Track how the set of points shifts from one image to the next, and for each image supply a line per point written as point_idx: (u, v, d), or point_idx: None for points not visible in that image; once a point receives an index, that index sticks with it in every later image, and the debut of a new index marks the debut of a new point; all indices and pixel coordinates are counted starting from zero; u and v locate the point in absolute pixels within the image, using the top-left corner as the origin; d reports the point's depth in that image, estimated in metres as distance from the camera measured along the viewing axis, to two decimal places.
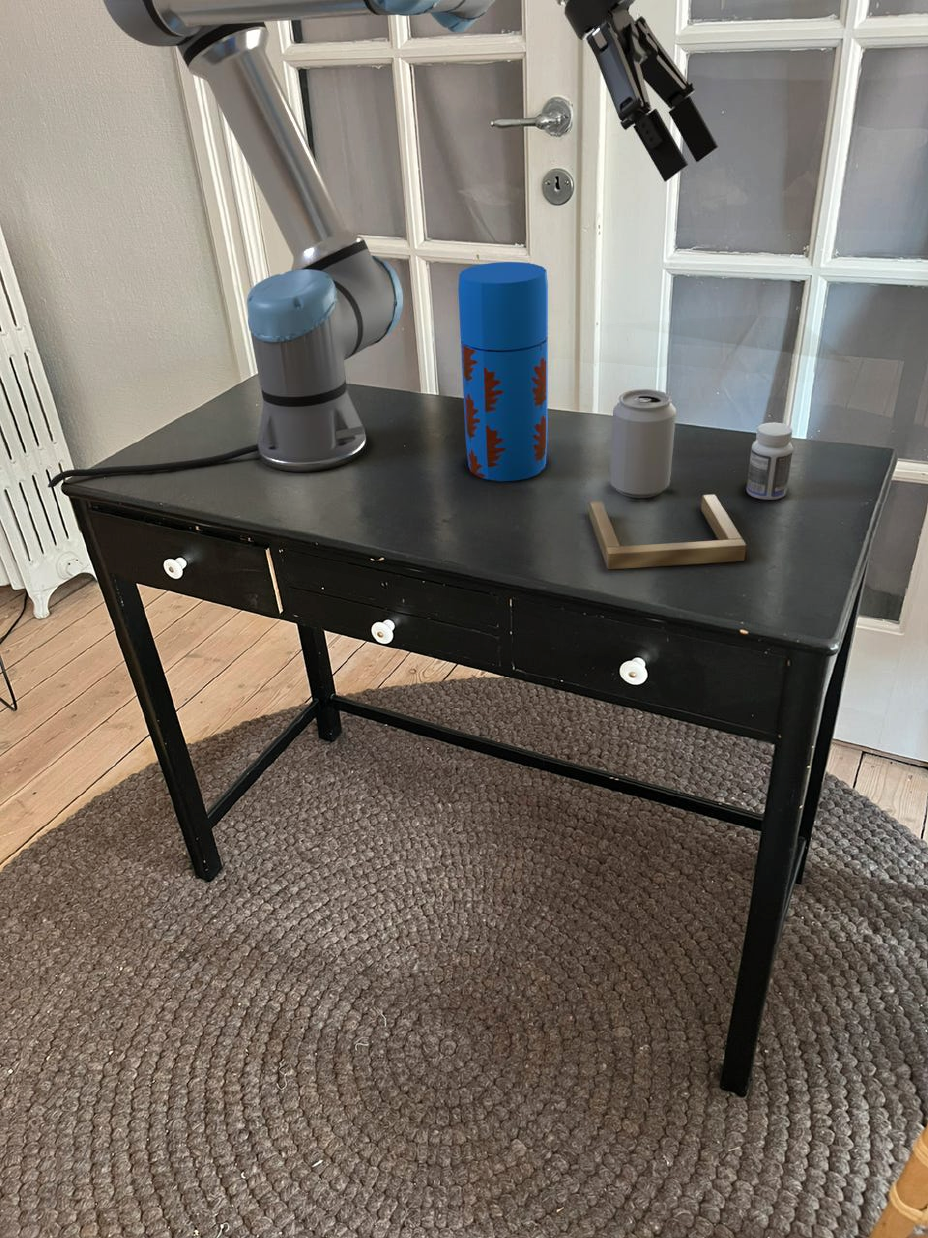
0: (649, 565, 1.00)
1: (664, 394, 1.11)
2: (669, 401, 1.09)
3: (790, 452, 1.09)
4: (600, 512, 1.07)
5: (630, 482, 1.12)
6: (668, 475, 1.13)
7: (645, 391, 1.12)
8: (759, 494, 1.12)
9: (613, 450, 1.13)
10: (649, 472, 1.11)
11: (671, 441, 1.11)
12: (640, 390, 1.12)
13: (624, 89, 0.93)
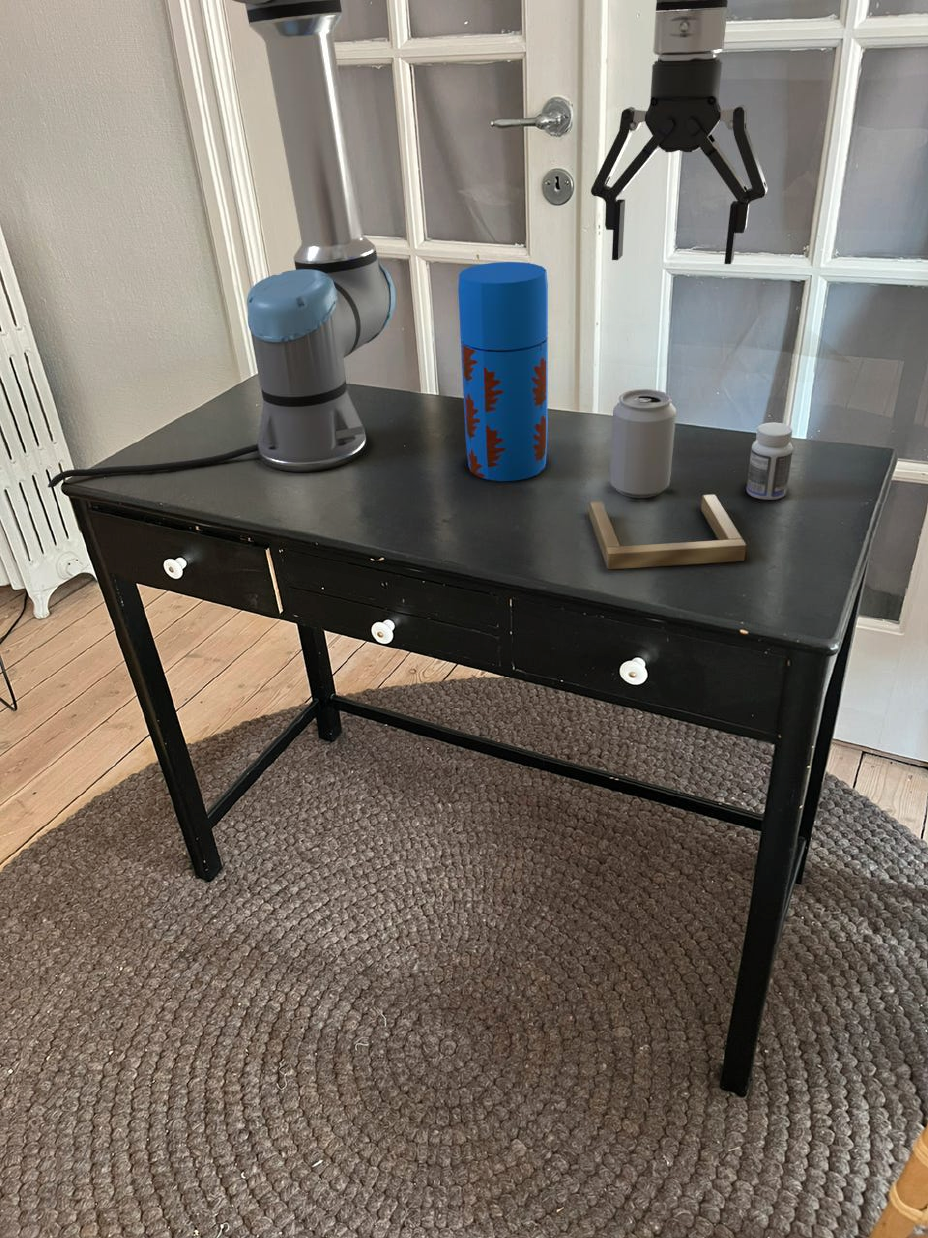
0: (649, 565, 1.00)
1: (664, 394, 1.11)
2: (669, 401, 1.09)
3: (790, 452, 1.09)
4: (600, 512, 1.07)
5: (630, 482, 1.12)
6: (668, 475, 1.13)
7: (645, 391, 1.12)
8: (759, 494, 1.12)
9: (613, 450, 1.13)
10: (649, 472, 1.11)
11: (671, 441, 1.11)
12: (640, 390, 1.12)
13: None
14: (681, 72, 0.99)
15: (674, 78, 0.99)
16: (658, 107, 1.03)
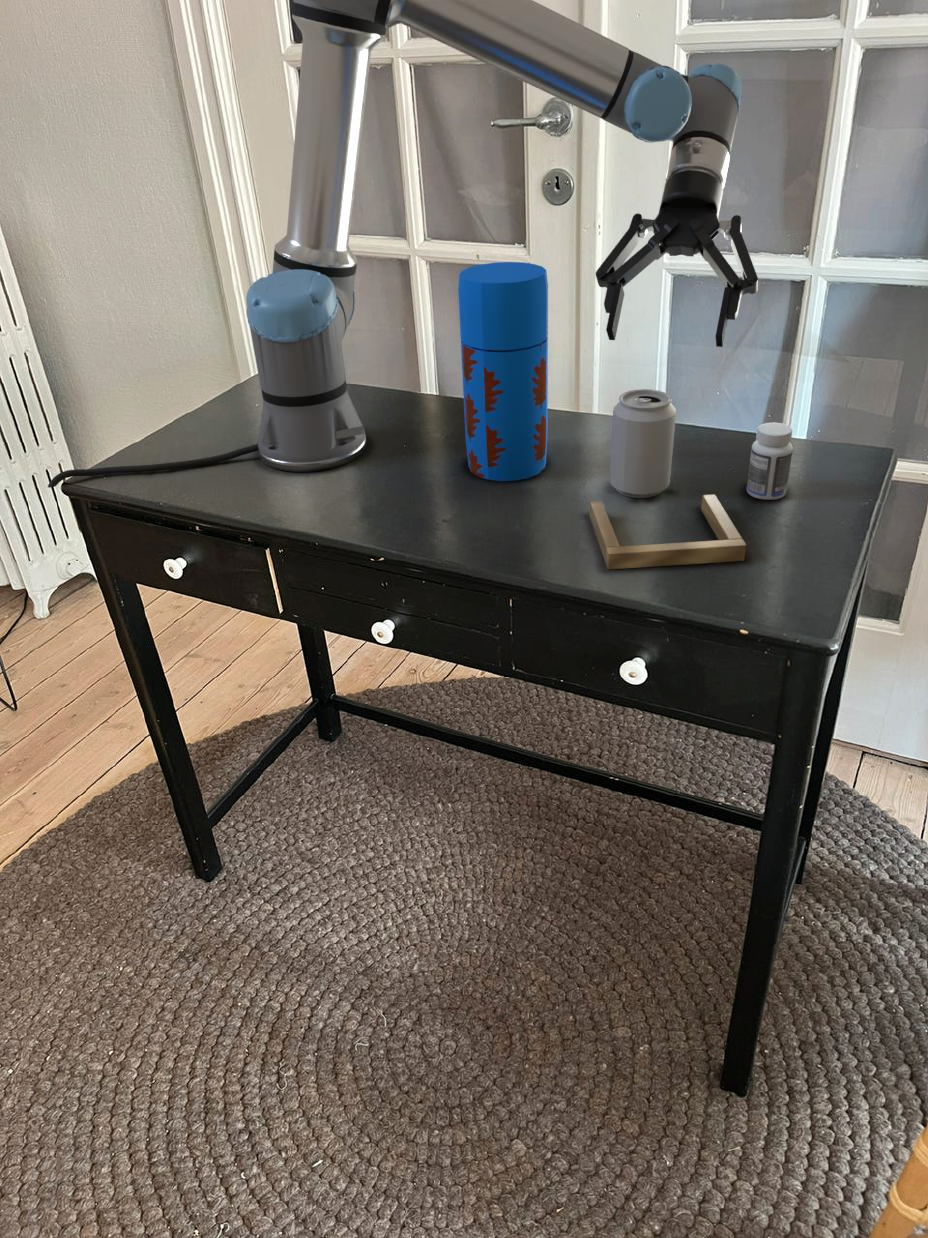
0: (649, 565, 1.00)
1: (664, 394, 1.11)
2: (669, 401, 1.09)
3: (790, 452, 1.09)
4: (600, 512, 1.07)
5: (630, 482, 1.12)
6: (668, 475, 1.13)
7: (645, 391, 1.12)
8: (759, 494, 1.12)
9: (613, 450, 1.13)
10: (649, 472, 1.11)
11: (671, 441, 1.11)
12: (640, 390, 1.12)
13: None
14: (691, 175, 1.15)
15: (684, 179, 1.15)
16: (666, 213, 1.17)
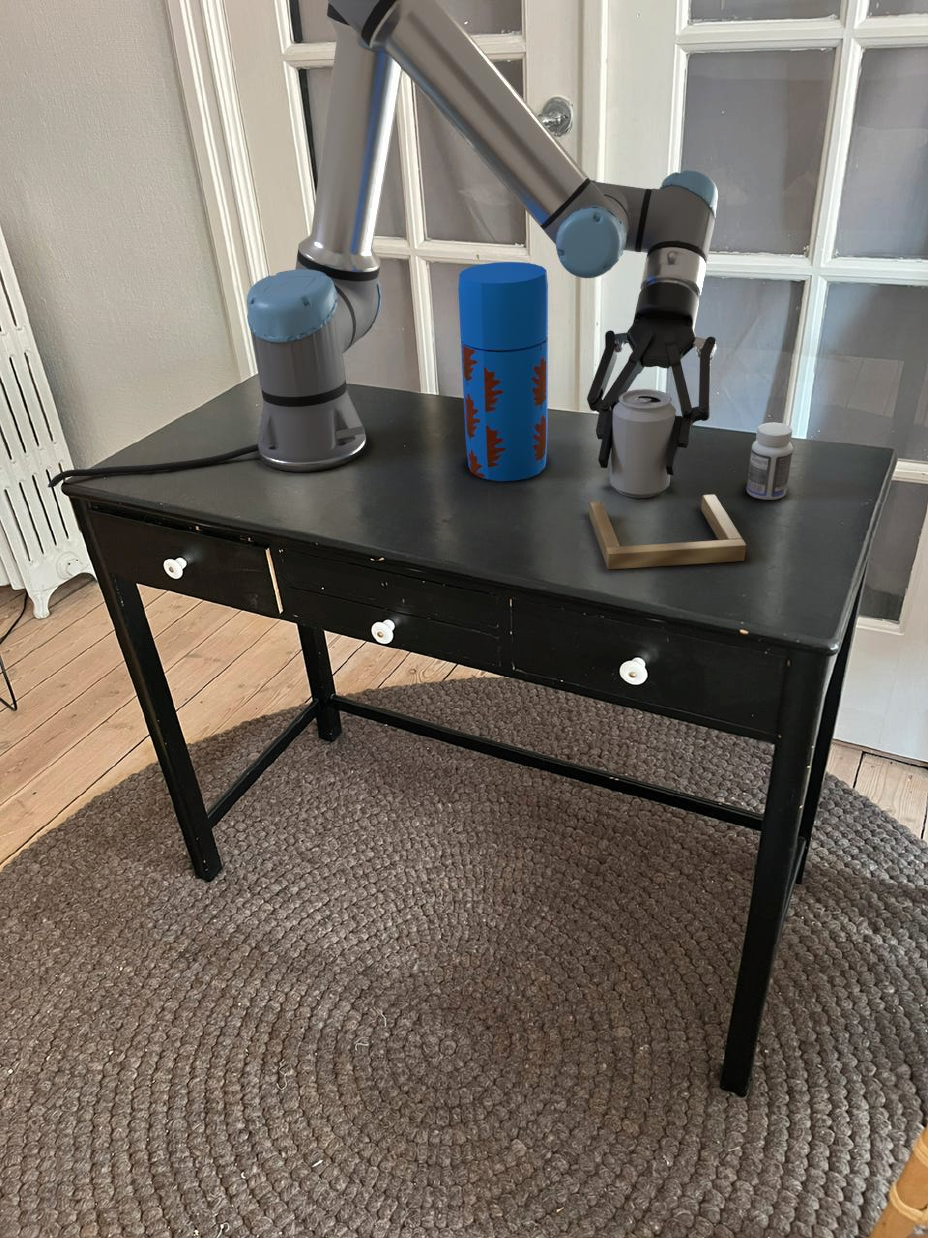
0: (649, 565, 1.00)
1: (664, 394, 1.11)
2: (669, 401, 1.09)
3: (790, 452, 1.09)
4: (600, 512, 1.07)
5: (630, 482, 1.12)
6: (668, 475, 1.13)
7: (645, 391, 1.12)
8: (759, 494, 1.12)
9: (613, 450, 1.13)
10: (649, 472, 1.11)
11: None
12: (640, 390, 1.12)
13: None
14: (666, 288, 1.11)
15: (659, 292, 1.11)
16: (640, 324, 1.14)
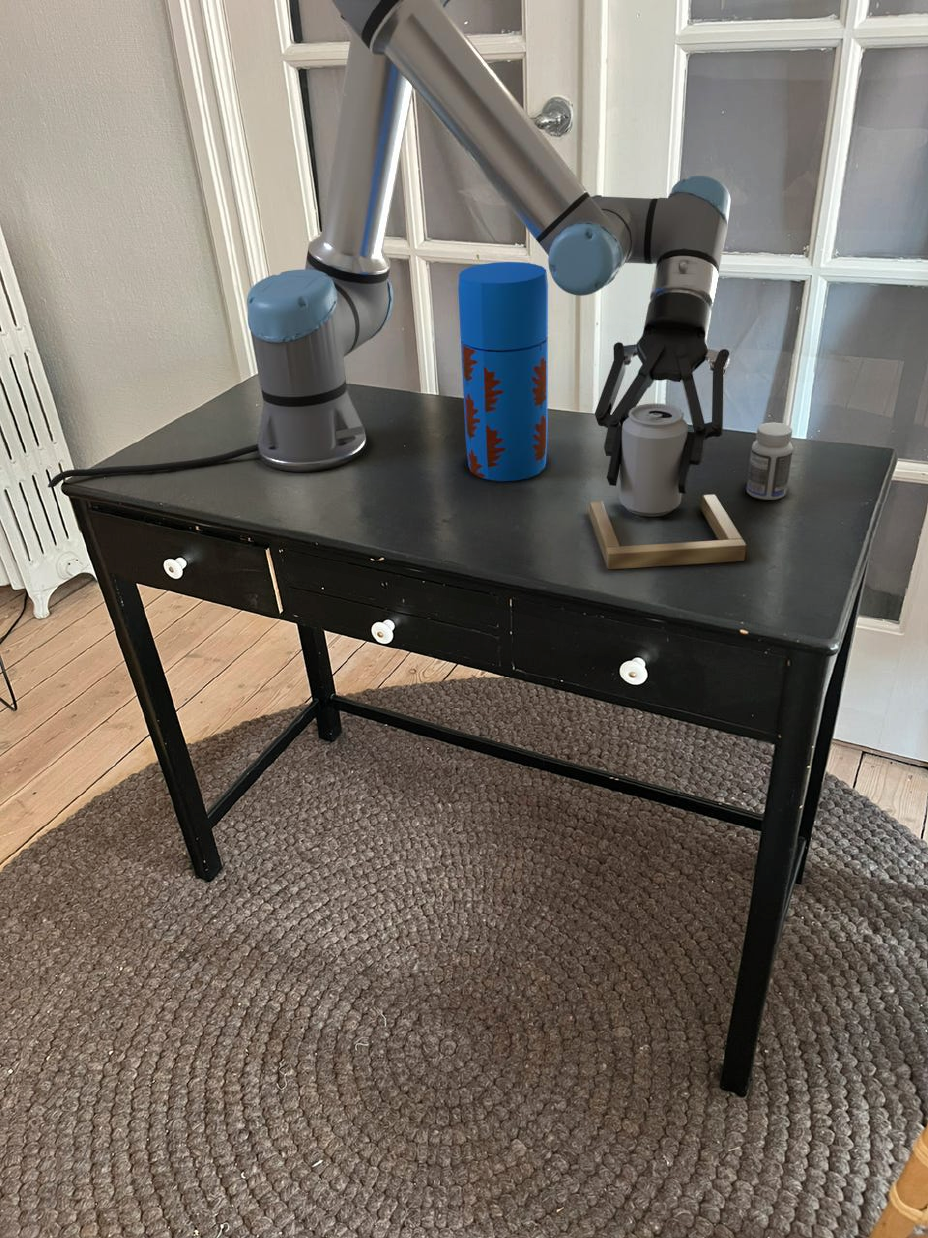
0: (649, 565, 1.00)
1: (676, 409, 1.06)
2: (681, 417, 1.04)
3: (790, 452, 1.09)
4: (600, 512, 1.07)
5: (641, 501, 1.08)
6: (680, 493, 1.09)
7: (655, 405, 1.07)
8: (759, 494, 1.12)
9: (622, 467, 1.08)
10: (660, 490, 1.07)
11: None
12: (650, 404, 1.08)
13: None
14: (677, 298, 1.06)
15: (670, 302, 1.07)
16: (650, 336, 1.09)
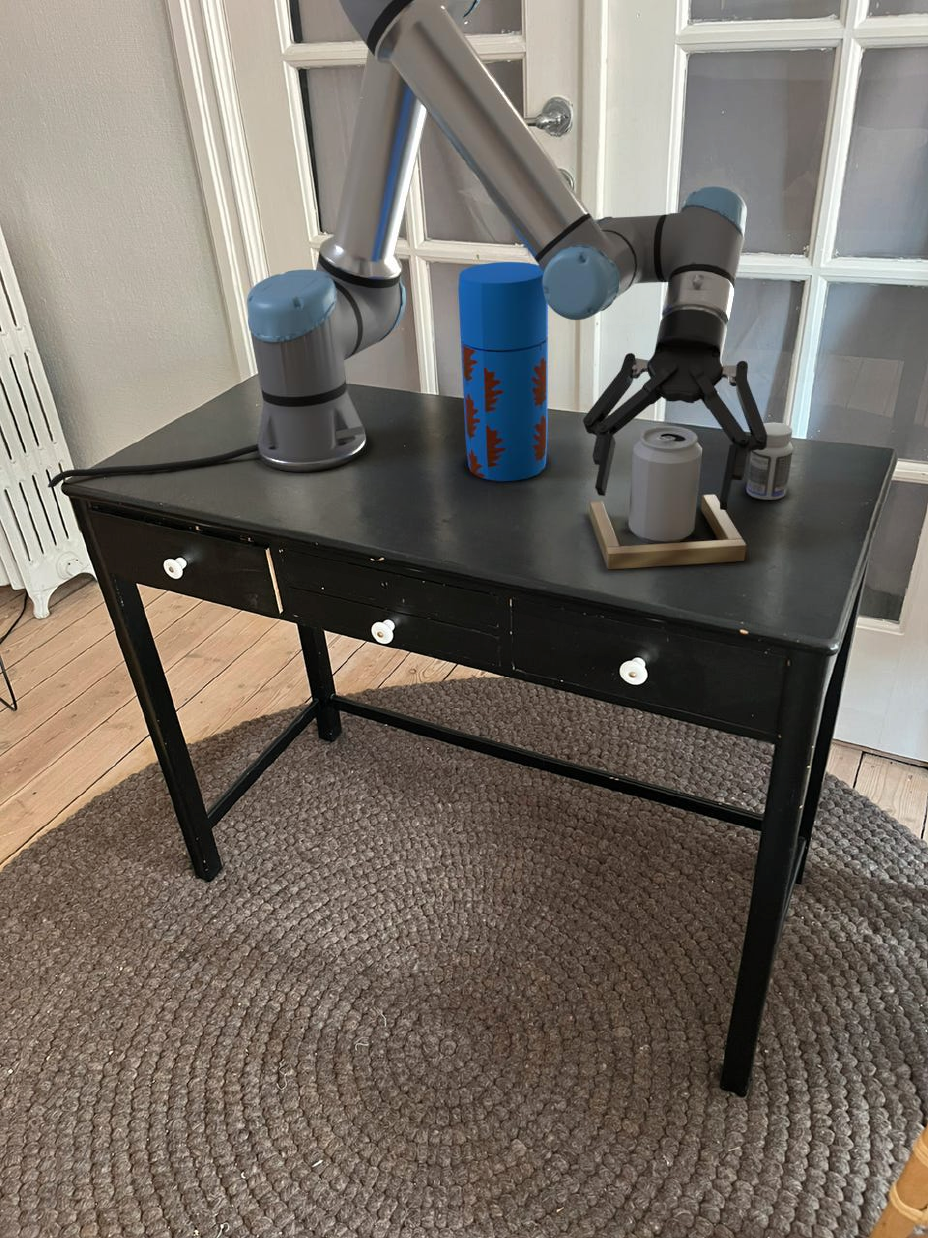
0: (649, 565, 1.00)
1: (689, 432, 1.01)
2: (695, 440, 0.99)
3: (790, 452, 1.09)
4: (600, 512, 1.07)
5: (652, 528, 1.02)
6: (693, 520, 1.03)
7: (668, 428, 1.02)
8: (759, 494, 1.12)
9: (633, 492, 1.03)
10: (672, 517, 1.01)
11: (697, 483, 1.01)
12: (662, 427, 1.02)
13: None
14: (691, 315, 1.01)
15: (683, 320, 1.01)
16: (662, 355, 1.04)
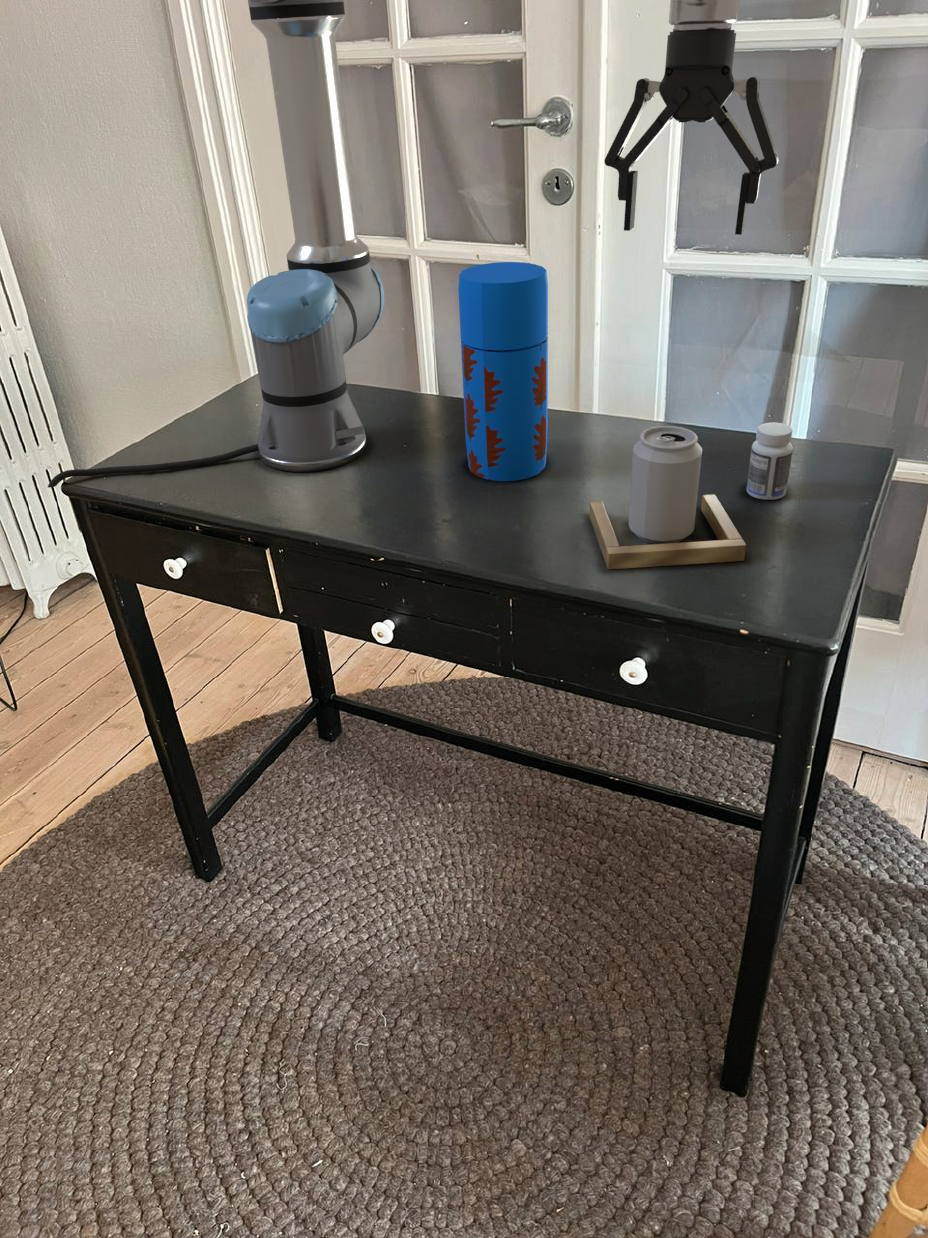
0: (649, 565, 1.00)
1: (689, 432, 1.01)
2: (695, 440, 0.99)
3: (790, 452, 1.09)
4: (600, 512, 1.07)
5: (652, 528, 1.02)
6: (693, 520, 1.03)
7: (668, 428, 1.02)
8: (759, 494, 1.12)
9: (633, 492, 1.03)
10: (672, 517, 1.01)
11: (697, 483, 1.01)
12: (662, 427, 1.02)
13: None
14: (696, 41, 1.01)
15: (689, 47, 1.01)
16: (672, 77, 1.05)
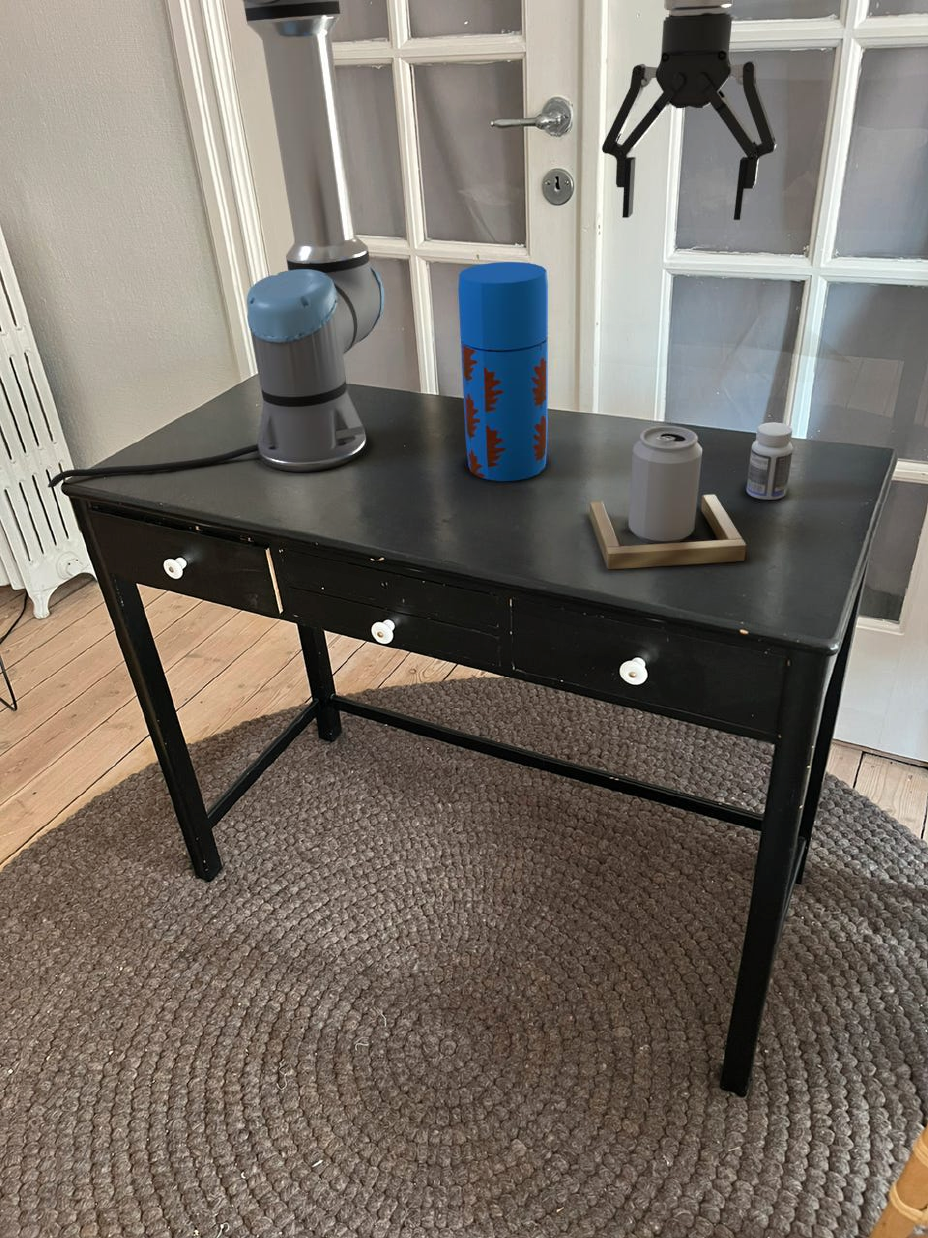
0: (649, 565, 1.00)
1: (689, 432, 1.01)
2: (695, 440, 0.99)
3: (790, 452, 1.09)
4: (600, 512, 1.07)
5: (652, 528, 1.02)
6: (693, 520, 1.03)
7: (668, 428, 1.02)
8: (759, 494, 1.12)
9: (633, 492, 1.03)
10: (672, 517, 1.01)
11: (697, 483, 1.01)
12: (662, 427, 1.02)
13: None
14: (692, 26, 1.00)
15: (685, 33, 1.01)
16: (669, 63, 1.05)
